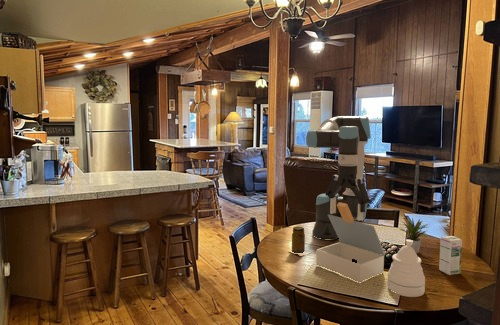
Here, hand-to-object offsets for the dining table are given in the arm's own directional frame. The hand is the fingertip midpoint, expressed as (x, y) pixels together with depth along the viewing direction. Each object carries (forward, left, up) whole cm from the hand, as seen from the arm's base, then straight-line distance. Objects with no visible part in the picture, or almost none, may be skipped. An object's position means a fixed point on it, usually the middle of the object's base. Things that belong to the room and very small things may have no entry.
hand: (346, 216), depth 151 cm
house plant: (+6, +44, -24) cm, 50 cm away
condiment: (-27, +1, -24) cm, 36 cm away
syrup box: (+27, +34, -24) cm, 49 cm away
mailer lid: (0, +3, -6) cm, 7 cm away
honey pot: (+24, +5, -24) cm, 34 cm away
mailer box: (0, +3, -23) cm, 23 cm away
